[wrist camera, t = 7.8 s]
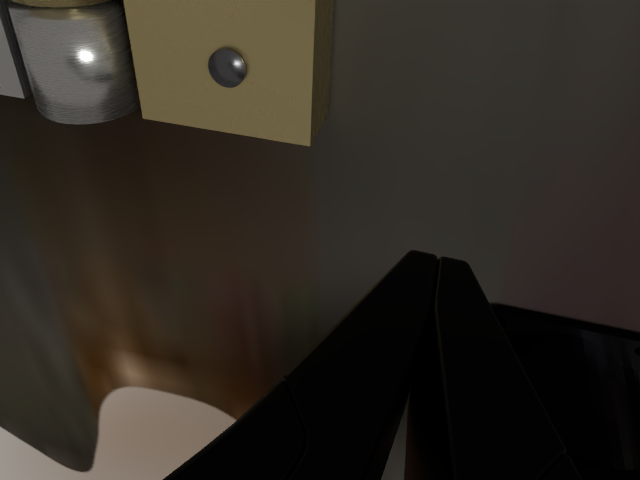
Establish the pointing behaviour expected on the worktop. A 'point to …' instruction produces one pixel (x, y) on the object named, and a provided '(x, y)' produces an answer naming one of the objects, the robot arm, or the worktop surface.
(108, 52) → the fixed leaf
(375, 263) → the worktop surface
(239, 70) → the olive box with knob
